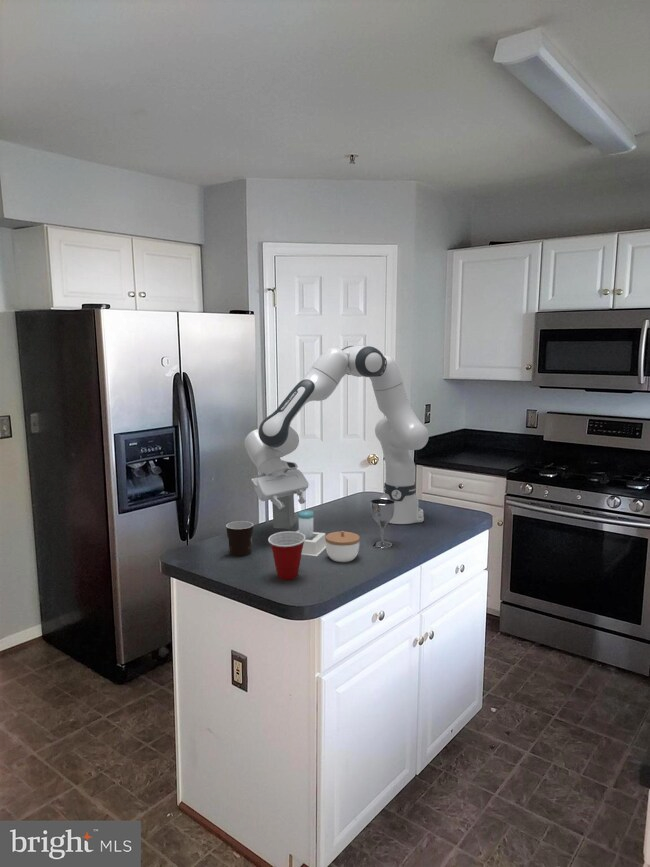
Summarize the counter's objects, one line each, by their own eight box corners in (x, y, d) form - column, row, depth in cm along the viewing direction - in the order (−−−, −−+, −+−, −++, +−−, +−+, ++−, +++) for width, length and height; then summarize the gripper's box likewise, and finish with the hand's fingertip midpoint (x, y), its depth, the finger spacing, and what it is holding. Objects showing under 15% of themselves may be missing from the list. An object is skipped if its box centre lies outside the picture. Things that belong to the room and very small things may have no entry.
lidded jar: (351, 553, 196) (351, 524, 195) (365, 564, 186) (365, 534, 185) (320, 556, 192) (320, 528, 191) (332, 568, 182) (332, 538, 181)
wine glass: (377, 539, 210) (378, 497, 207) (398, 543, 205) (399, 500, 203) (365, 545, 203) (366, 501, 201) (386, 550, 199) (387, 505, 196)
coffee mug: (246, 561, 188) (245, 530, 186) (221, 558, 191) (220, 527, 189) (262, 549, 199) (262, 520, 197) (239, 546, 202) (238, 517, 200)
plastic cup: (261, 580, 173) (260, 539, 171) (279, 567, 183) (279, 529, 181) (295, 586, 169) (295, 545, 167) (312, 573, 179) (311, 533, 177)
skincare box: (290, 531, 219) (289, 488, 216) (270, 529, 220) (270, 487, 218) (295, 524, 227) (295, 482, 224) (277, 523, 228) (277, 482, 226)
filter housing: (295, 542, 206) (295, 529, 205) (329, 546, 202) (329, 532, 201) (281, 554, 195) (281, 539, 194) (317, 558, 191) (317, 543, 190)
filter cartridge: (301, 544, 201) (301, 509, 199) (315, 546, 200) (315, 511, 198) (296, 549, 197) (296, 513, 195) (310, 551, 195) (310, 515, 193)
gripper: (253, 470, 197) (273, 505, 191) (299, 462, 211) (319, 494, 206) (244, 482, 200) (264, 516, 195) (290, 473, 215) (310, 505, 209)
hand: (292, 505), depth 201 cm, fingers open, 8 cm apart
